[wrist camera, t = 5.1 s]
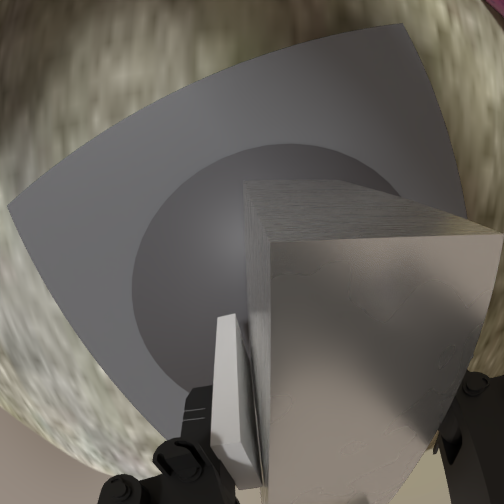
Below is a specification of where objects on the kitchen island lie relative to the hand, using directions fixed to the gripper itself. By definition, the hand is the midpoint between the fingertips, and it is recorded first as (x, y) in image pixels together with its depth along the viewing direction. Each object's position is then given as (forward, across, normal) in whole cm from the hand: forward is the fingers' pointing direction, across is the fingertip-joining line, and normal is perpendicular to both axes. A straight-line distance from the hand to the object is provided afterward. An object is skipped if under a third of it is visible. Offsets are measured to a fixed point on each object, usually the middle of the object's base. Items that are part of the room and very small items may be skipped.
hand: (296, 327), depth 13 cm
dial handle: (+1, 0, 0) cm, 1 cm away
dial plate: (+3, 0, 0) cm, 3 cm away
